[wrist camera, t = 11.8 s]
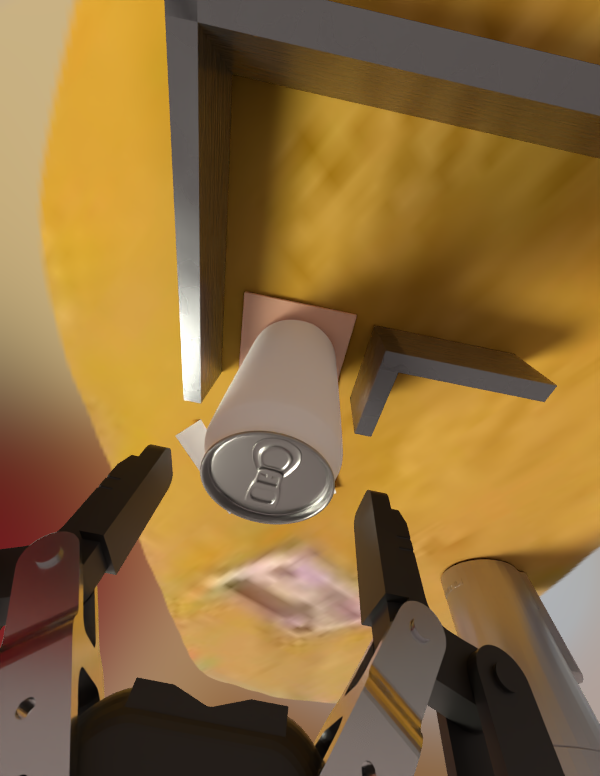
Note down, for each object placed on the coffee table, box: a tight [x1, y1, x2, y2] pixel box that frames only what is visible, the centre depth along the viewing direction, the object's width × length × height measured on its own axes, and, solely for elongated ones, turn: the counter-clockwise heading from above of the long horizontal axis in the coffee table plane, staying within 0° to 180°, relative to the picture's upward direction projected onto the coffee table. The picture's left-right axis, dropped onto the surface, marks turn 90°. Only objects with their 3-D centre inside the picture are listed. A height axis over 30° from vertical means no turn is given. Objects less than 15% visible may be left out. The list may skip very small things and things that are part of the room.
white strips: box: [176, 420, 336, 514], centre depth 28 cm, size 12×12×2 cm
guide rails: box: [164, 0, 600, 437], centre depth 17 cm, size 23×19×4 cm
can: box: [200, 320, 343, 524], centre depth 17 cm, size 6×6×12 cm
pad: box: [239, 291, 357, 378], centre depth 22 cm, size 8×8×1 cm
